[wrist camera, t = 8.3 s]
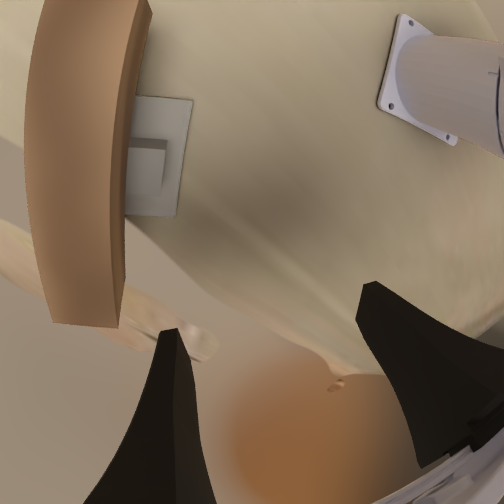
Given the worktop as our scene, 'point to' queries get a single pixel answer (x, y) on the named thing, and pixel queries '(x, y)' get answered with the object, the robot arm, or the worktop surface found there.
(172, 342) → the robot arm
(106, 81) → the beam
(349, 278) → the worktop surface
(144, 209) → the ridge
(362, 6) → the worktop surface
